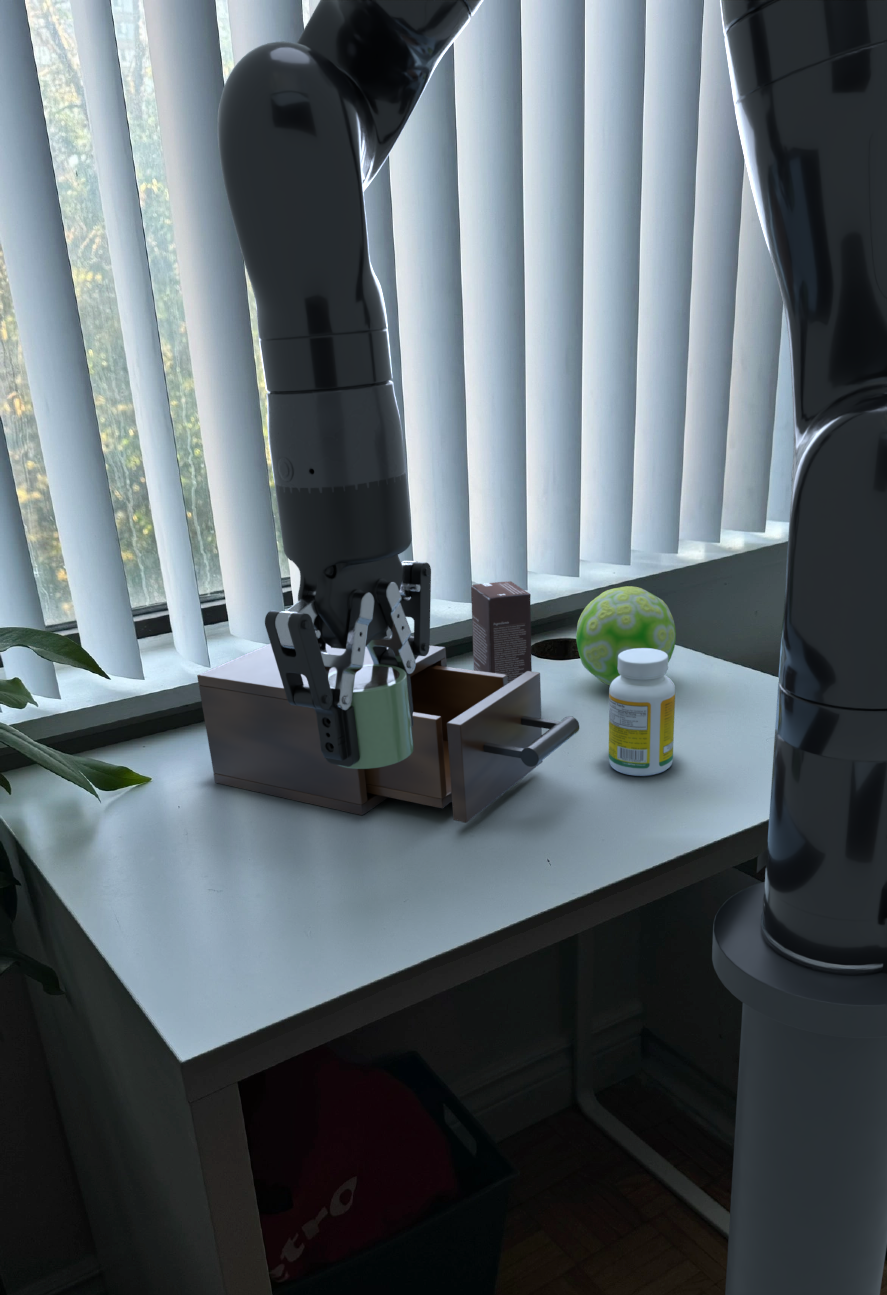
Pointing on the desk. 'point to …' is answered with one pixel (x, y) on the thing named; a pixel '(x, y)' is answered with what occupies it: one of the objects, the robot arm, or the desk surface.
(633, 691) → the supplement bottle
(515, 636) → the box
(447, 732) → the drawer
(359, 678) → the pot
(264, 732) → the cabinet
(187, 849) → the desk surface
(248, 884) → the desk surface
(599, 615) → the decorative ball
